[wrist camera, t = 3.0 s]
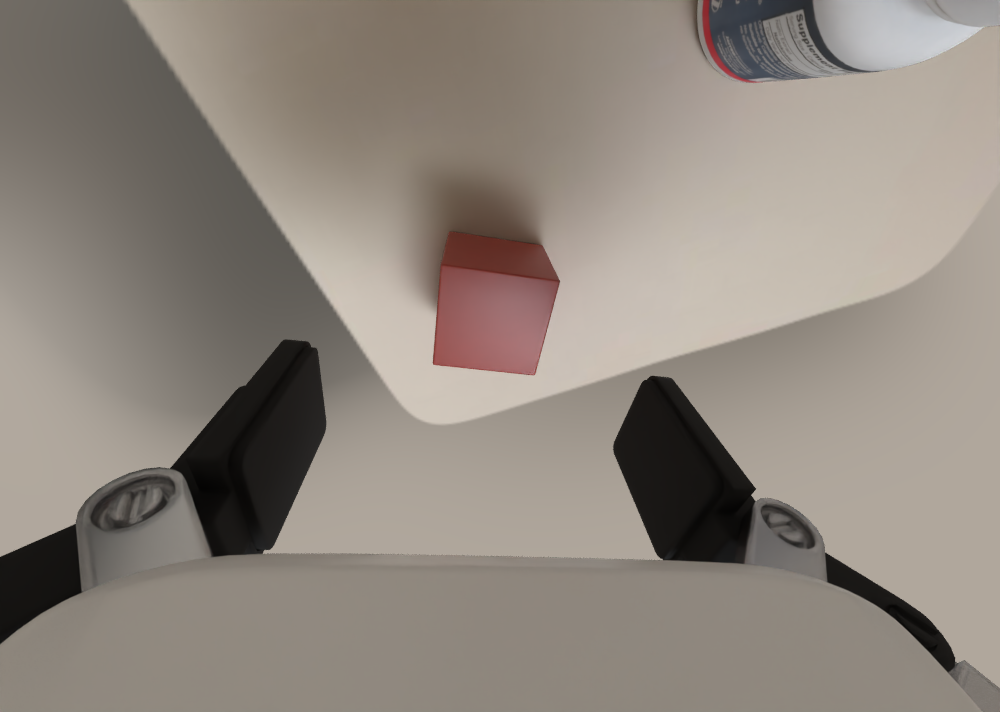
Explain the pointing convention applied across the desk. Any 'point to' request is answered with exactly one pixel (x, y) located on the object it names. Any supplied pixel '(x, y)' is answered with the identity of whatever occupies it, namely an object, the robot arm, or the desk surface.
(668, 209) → the desk surface
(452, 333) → the red block
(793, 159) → the desk surface
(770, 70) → the pill bottle
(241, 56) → the desk surface
